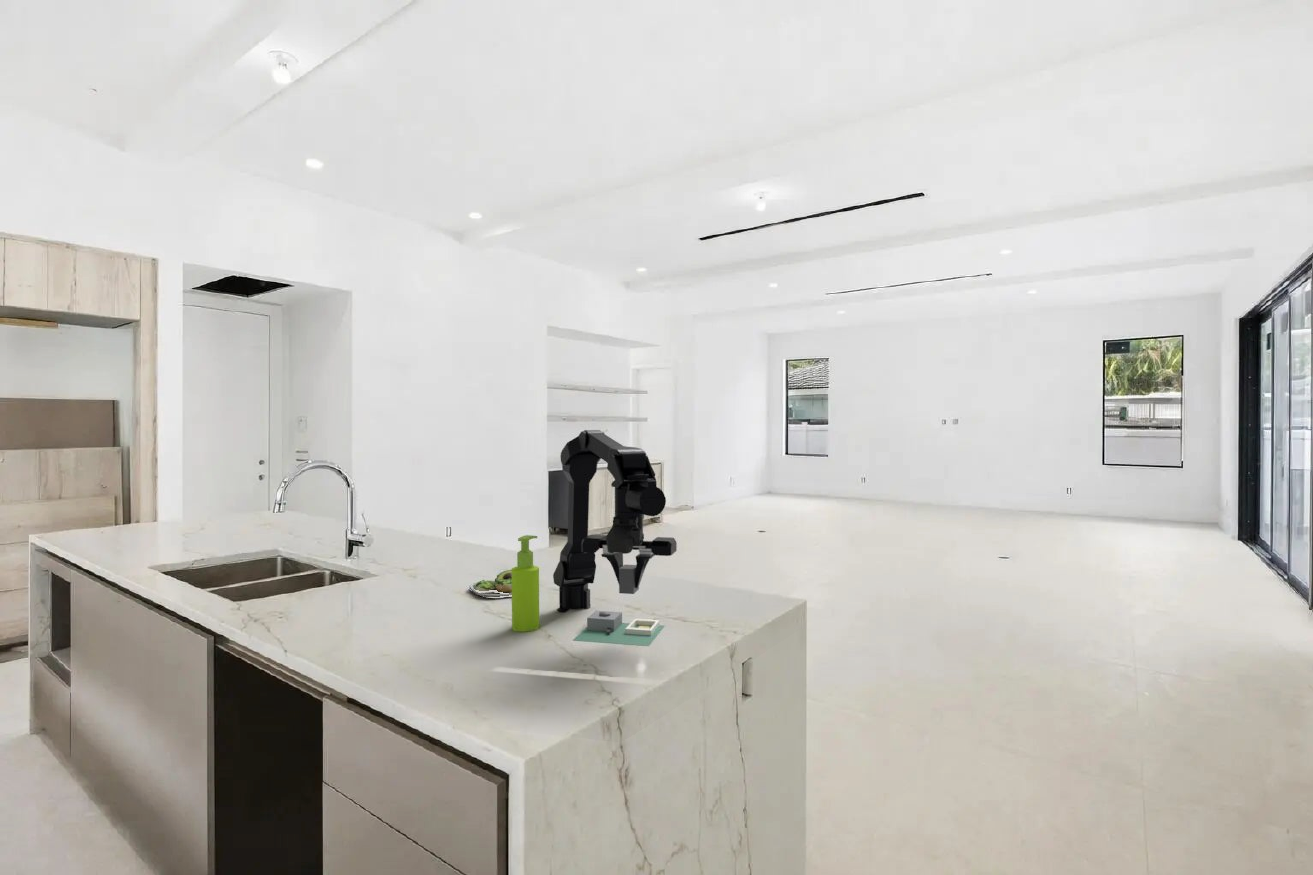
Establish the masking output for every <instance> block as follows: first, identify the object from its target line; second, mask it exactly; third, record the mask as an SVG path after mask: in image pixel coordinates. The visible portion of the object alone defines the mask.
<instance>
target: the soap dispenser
mask: <svg viewBox="0 0 1313 875" xmlns="http://www.w3.org/2000/svg"><path fill="white" fill-rule="evenodd" d="M532 539H533V540H534V539H538V535H531V534H530V535H528V534H525V535H522V536H520V537H518V538H517V541H518V542H520V550H519V551H518V552H517V553H516V557H517V559H516V560H517V561H516V562H517V563H516V564H517V565H516V566H514V567H512V568H511V570H512V597H511V629H512V630H513V631H515V632H532V631H533V632H534V631H536V630H538V629H539V628H540V567H539V566H538V565H537V566H536V565H534V552H533V551H532V550H530V540H532Z"/></svg>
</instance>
